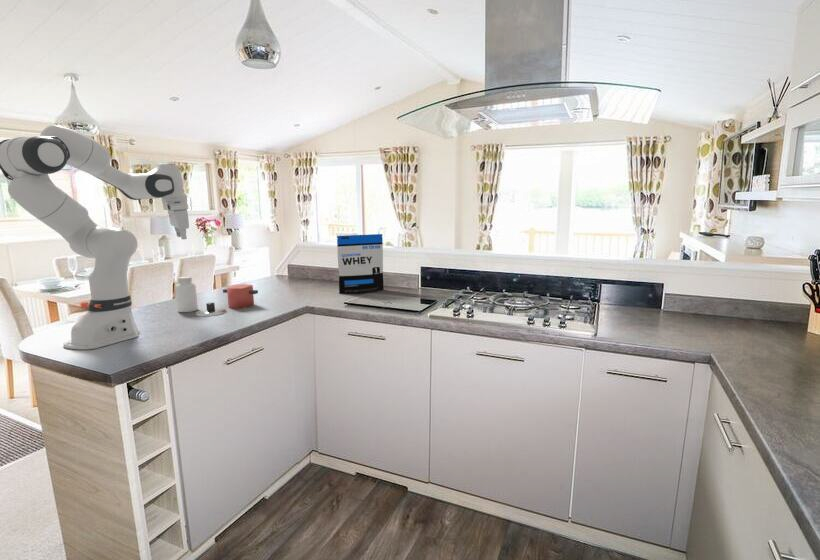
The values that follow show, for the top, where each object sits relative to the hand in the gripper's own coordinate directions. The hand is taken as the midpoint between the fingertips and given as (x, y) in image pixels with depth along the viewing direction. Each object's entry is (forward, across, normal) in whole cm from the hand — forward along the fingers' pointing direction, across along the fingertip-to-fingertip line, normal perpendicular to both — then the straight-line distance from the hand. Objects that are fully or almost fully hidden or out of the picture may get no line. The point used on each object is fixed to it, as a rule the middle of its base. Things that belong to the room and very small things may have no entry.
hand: (181, 237), depth 179 cm
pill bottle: (+33, -6, -2) cm, 34 cm away
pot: (+35, 0, +19) cm, 39 cm away
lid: (+34, +5, +5) cm, 34 cm away
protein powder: (+40, +9, +78) cm, 88 cm away
